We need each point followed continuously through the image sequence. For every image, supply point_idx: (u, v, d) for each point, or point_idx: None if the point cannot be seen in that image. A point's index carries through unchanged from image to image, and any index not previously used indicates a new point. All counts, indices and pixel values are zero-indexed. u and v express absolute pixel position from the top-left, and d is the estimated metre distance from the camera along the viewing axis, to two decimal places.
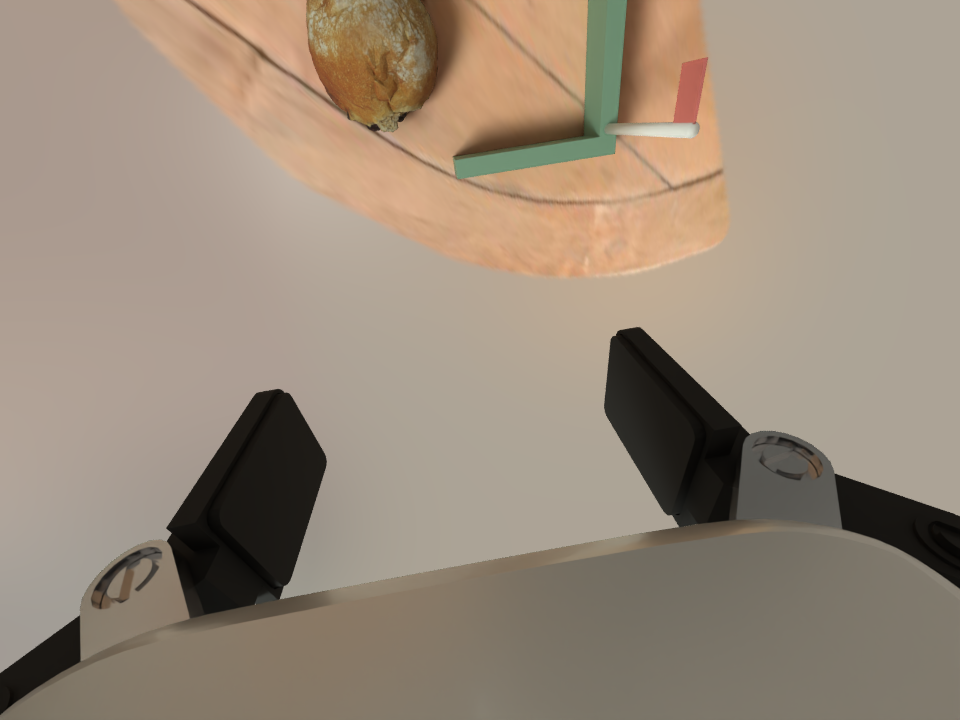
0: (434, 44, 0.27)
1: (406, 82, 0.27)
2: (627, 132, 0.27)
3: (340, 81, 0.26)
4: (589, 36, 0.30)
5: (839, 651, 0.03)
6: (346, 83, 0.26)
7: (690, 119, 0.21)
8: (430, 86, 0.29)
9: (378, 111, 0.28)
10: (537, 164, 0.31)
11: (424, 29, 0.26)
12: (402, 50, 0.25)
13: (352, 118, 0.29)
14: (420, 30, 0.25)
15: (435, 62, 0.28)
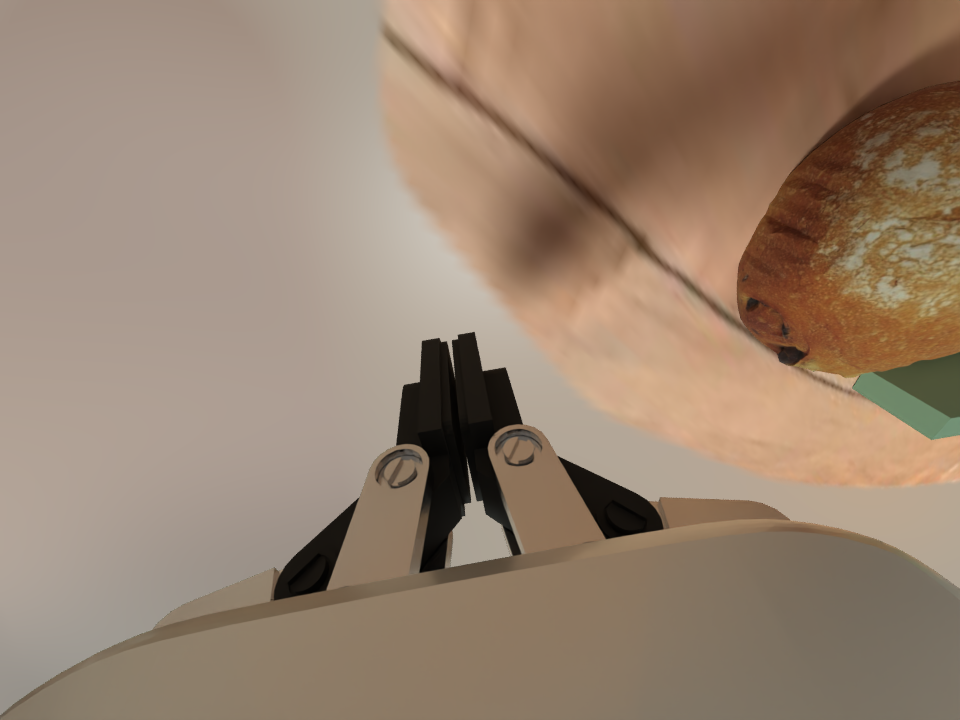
0: None
1: None
2: None
3: (874, 344, 0.12)
4: None
5: (839, 651, 0.03)
6: (890, 350, 0.12)
7: None
8: None
9: None
10: None
11: None
12: None
13: (798, 366, 0.15)
14: None
15: None
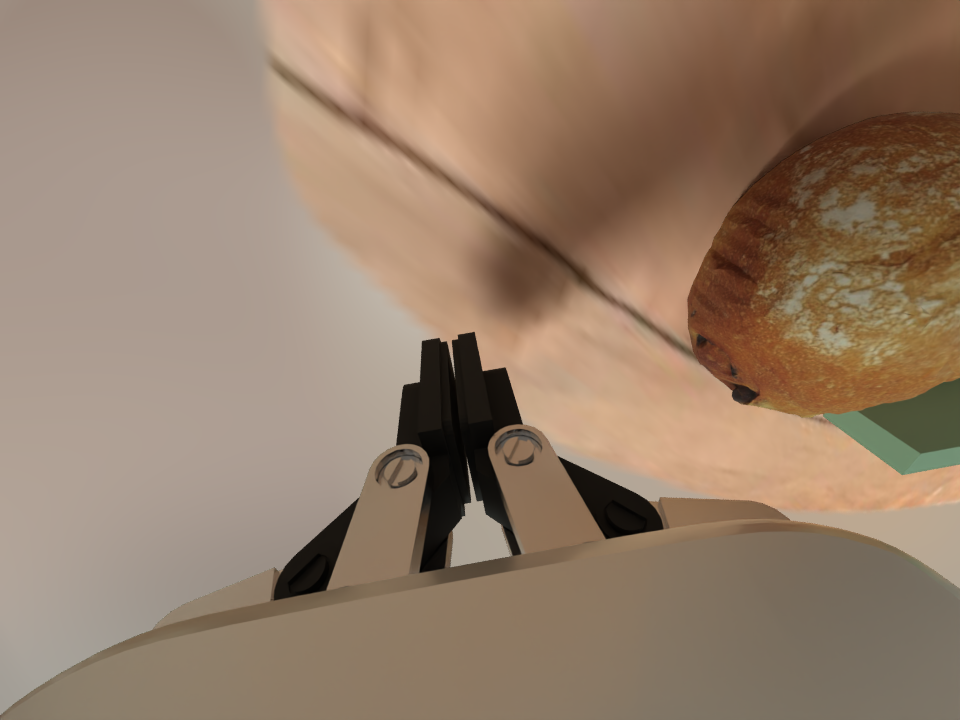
0: None
1: None
2: None
3: (822, 390, 0.11)
4: None
5: (839, 651, 0.03)
6: (839, 396, 0.11)
7: None
8: None
9: None
10: None
11: None
12: None
13: (752, 405, 0.14)
14: None
15: None
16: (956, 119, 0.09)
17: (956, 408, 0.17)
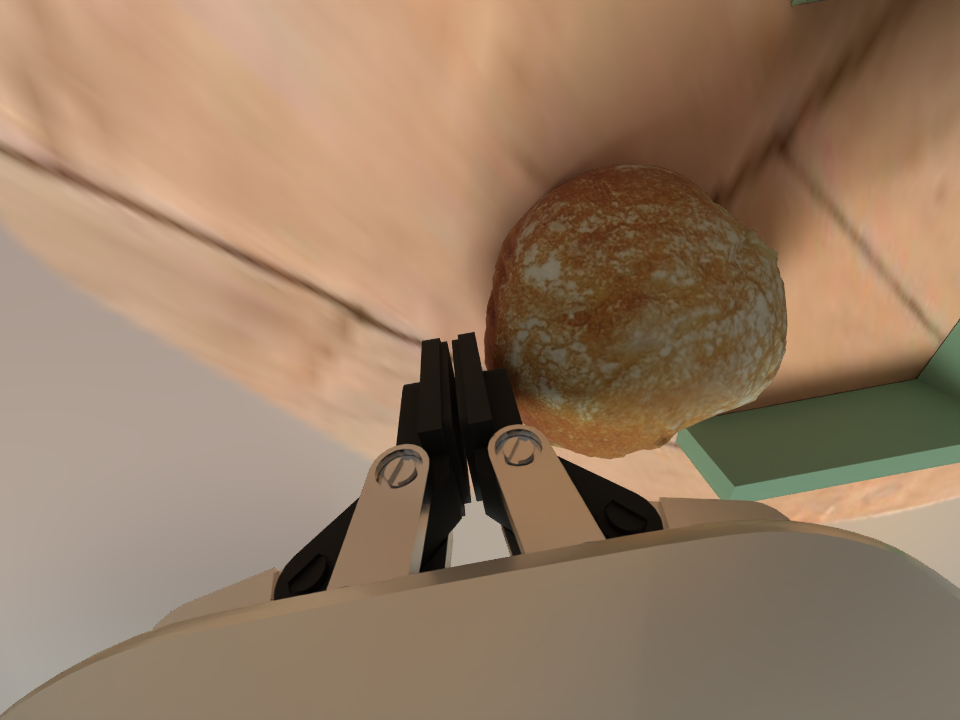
0: None
1: None
2: None
3: (568, 440, 0.11)
4: None
5: (839, 651, 0.03)
6: (583, 446, 0.11)
7: None
8: None
9: None
10: (880, 475, 0.16)
11: (786, 332, 0.10)
12: (747, 398, 0.10)
13: None
14: (785, 341, 0.10)
15: None
16: (641, 177, 0.09)
17: (789, 437, 0.17)
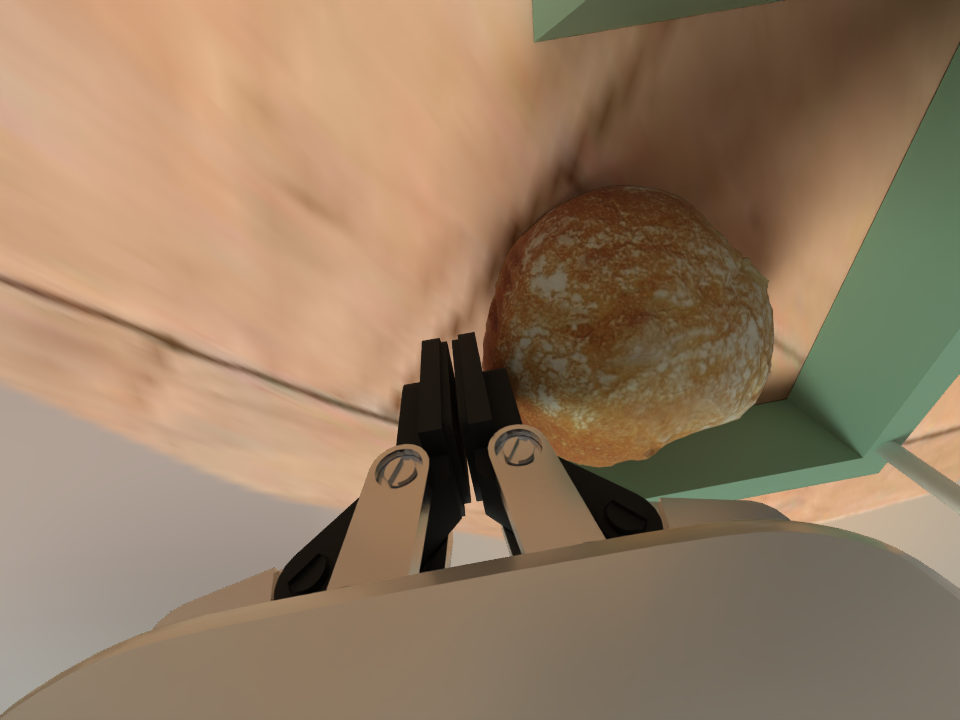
0: None
1: None
2: None
3: (561, 447, 0.11)
4: (863, 276, 0.14)
5: (839, 651, 0.03)
6: (575, 454, 0.11)
7: None
8: None
9: None
10: (729, 499, 0.16)
11: (771, 356, 0.11)
12: (732, 415, 0.11)
13: None
14: (770, 364, 0.11)
15: None
16: (648, 199, 0.09)
17: (644, 460, 0.17)
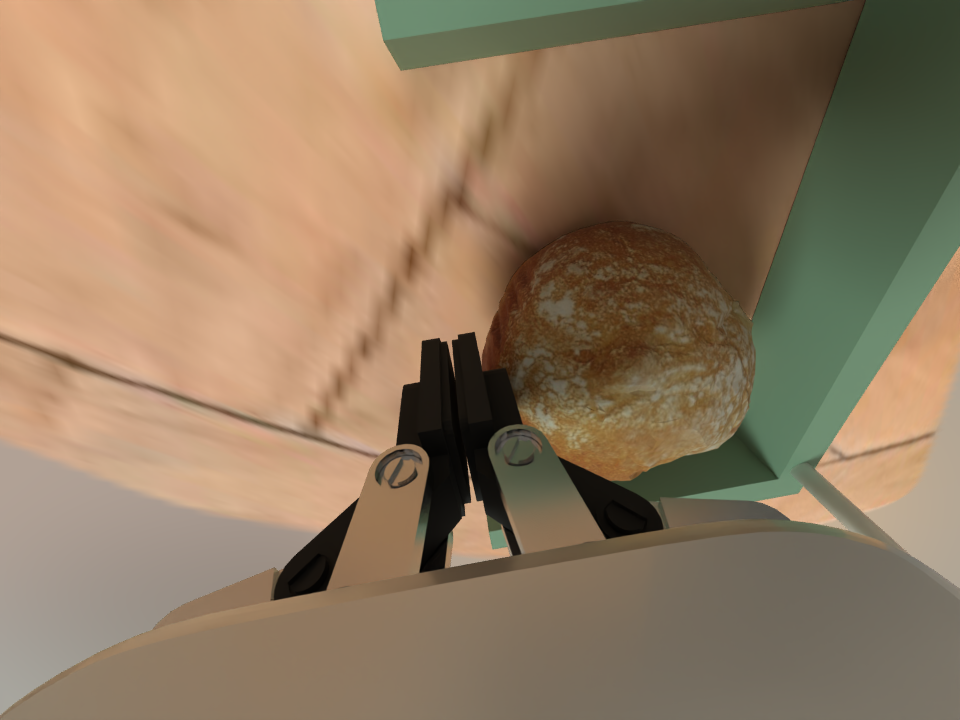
0: None
1: None
2: None
3: None
4: (772, 298, 0.14)
5: (839, 651, 0.03)
6: None
7: None
8: None
9: None
10: None
11: None
12: None
13: None
14: (749, 400, 0.12)
15: None
16: (654, 239, 0.10)
17: None
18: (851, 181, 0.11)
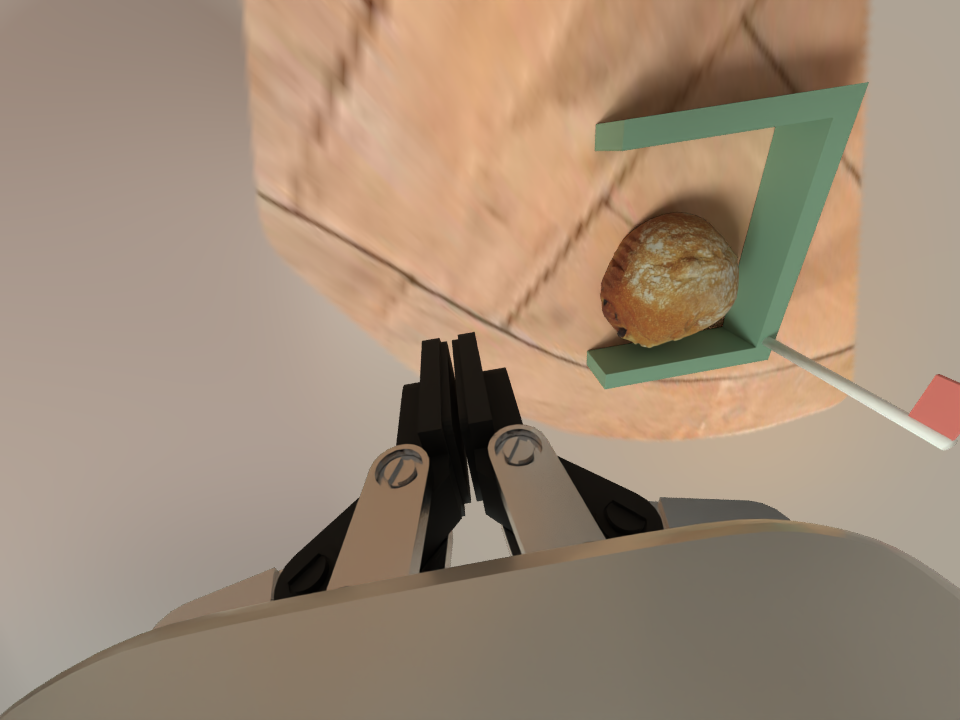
0: None
1: (700, 326, 0.27)
2: (811, 372, 0.25)
3: (647, 322, 0.26)
4: (748, 251, 0.28)
5: (839, 651, 0.03)
6: (653, 326, 0.26)
7: (947, 434, 0.19)
8: None
9: (660, 342, 0.28)
10: (688, 372, 0.30)
11: (737, 290, 0.26)
12: (721, 310, 0.25)
13: (625, 338, 0.28)
14: (737, 292, 0.26)
15: None
16: (694, 218, 0.24)
17: (641, 354, 0.30)
18: (777, 193, 0.25)
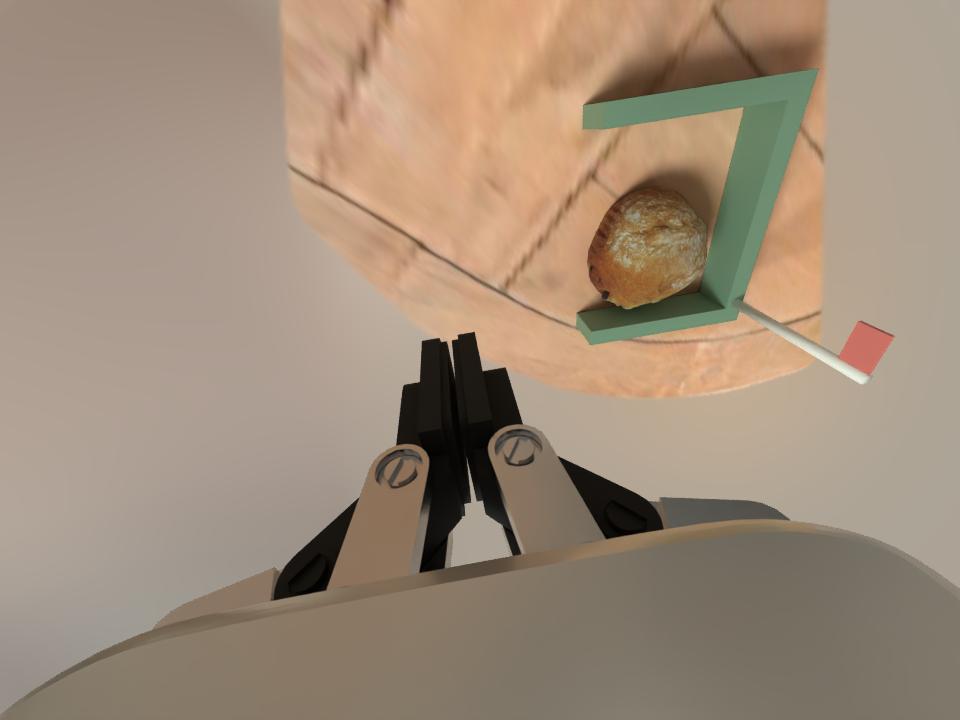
0: None
1: (673, 288, 0.31)
2: (767, 327, 0.29)
3: (626, 284, 0.30)
4: (720, 221, 0.32)
5: (839, 651, 0.03)
6: (631, 287, 0.30)
7: (864, 371, 0.23)
8: None
9: (639, 303, 0.32)
10: (664, 331, 0.34)
11: (706, 256, 0.30)
12: (690, 274, 0.29)
13: (608, 300, 0.32)
14: (705, 258, 0.29)
15: None
16: (668, 191, 0.28)
17: (624, 315, 0.34)
18: (744, 168, 0.28)
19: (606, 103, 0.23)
